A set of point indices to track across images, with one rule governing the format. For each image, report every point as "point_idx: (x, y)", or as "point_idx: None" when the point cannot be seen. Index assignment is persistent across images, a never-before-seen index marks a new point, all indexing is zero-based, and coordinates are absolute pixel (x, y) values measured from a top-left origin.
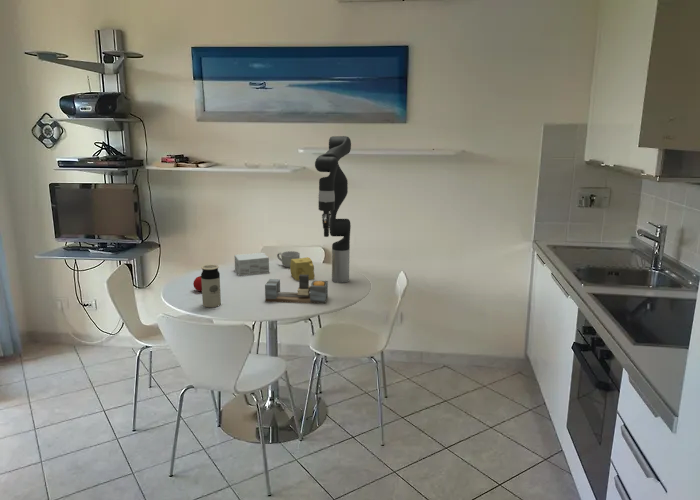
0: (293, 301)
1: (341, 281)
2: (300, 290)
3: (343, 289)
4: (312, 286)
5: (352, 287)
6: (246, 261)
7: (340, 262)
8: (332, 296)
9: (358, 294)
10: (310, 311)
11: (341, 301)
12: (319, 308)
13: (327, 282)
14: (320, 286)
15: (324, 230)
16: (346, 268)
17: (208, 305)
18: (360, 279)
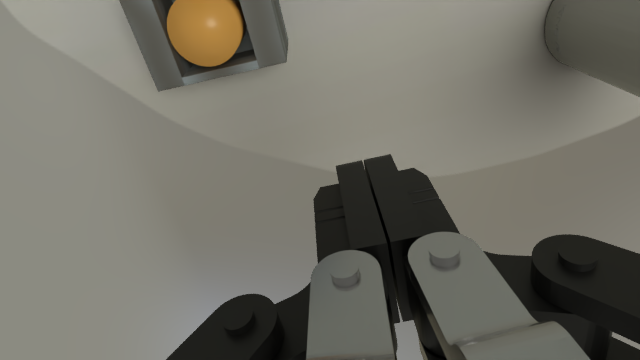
0: None
1: (548, 38)
2: None
3: (429, 81)
4: (128, 6)
5: (470, 113)
6: None
7: (627, 58)
8: (304, 62)
9: None
10: (43, 31)
11: (249, 125)
12: (108, 60)
13: (278, 62)
14: (155, 58)
15: (350, 237)
16: (608, 82)
17: None
18: (611, 114)
